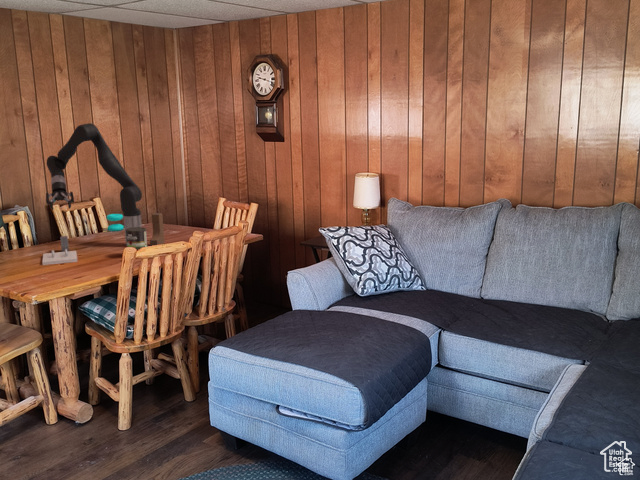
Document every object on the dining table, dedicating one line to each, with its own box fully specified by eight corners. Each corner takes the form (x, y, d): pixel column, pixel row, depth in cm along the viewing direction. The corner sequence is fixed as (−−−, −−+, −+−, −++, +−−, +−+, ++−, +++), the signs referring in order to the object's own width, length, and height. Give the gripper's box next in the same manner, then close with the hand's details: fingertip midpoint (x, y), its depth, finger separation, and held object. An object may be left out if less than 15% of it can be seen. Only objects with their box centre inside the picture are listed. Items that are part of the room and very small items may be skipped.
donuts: (103, 214, 381) (117, 212, 388) (104, 230, 383) (119, 228, 390) (111, 216, 374) (125, 214, 381) (112, 232, 376) (127, 229, 384)
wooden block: (157, 248, 330) (155, 215, 327) (150, 247, 331) (147, 215, 327) (164, 244, 339) (162, 213, 335) (157, 244, 340) (155, 213, 336)
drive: (61, 250, 327) (60, 236, 325) (69, 250, 328) (67, 235, 326) (61, 252, 322) (60, 238, 320) (69, 252, 323) (67, 237, 322)
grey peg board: (43, 256, 314) (42, 248, 313) (76, 253, 320) (75, 245, 319) (42, 265, 296) (41, 256, 295) (77, 261, 302) (76, 252, 301)
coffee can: (139, 258, 307) (137, 231, 305) (123, 256, 311) (121, 230, 308) (152, 253, 317) (150, 227, 314) (136, 252, 321) (134, 226, 318)
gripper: (44, 181, 333) (46, 205, 325) (72, 180, 338) (74, 203, 330) (45, 190, 339) (47, 213, 331) (72, 188, 344) (75, 211, 336)
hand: (60, 208), depth 331 cm, fingers open, 8 cm apart
